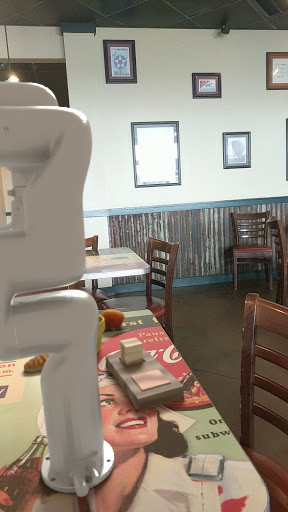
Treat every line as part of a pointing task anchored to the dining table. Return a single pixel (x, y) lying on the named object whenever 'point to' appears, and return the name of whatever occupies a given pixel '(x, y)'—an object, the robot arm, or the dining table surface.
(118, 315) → the fruit
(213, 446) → the dining table surface
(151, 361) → the pocket board
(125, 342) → the maple block
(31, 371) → the pastry
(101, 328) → the plant pot
